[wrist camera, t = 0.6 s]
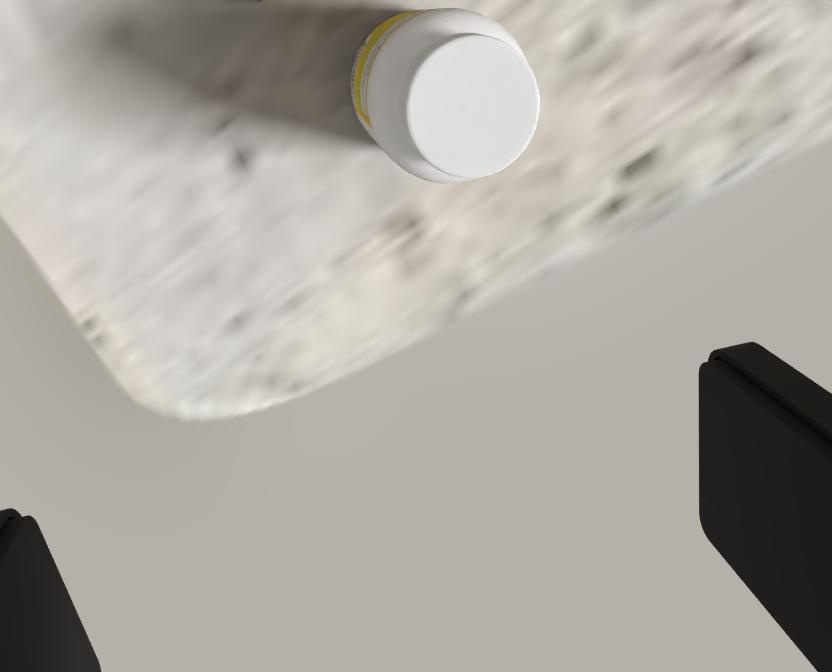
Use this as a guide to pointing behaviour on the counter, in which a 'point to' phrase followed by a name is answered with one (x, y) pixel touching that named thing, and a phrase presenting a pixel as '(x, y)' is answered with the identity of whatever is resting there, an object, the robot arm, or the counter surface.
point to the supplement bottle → (445, 93)
